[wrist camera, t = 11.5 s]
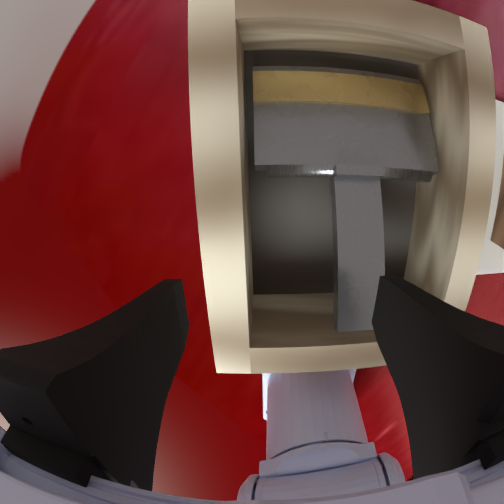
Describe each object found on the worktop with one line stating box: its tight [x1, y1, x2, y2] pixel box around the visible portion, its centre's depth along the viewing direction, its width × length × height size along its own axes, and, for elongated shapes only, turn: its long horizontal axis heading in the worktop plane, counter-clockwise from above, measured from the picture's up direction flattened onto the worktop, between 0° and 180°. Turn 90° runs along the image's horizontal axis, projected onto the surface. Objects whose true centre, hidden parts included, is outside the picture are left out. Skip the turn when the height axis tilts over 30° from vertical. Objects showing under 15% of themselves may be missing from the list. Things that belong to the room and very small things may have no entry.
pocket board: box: [188, 0, 496, 373], centre depth 15 cm, size 20×15×6 cm
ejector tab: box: [253, 66, 440, 332], centre depth 14 cm, size 14×10×2 cm
